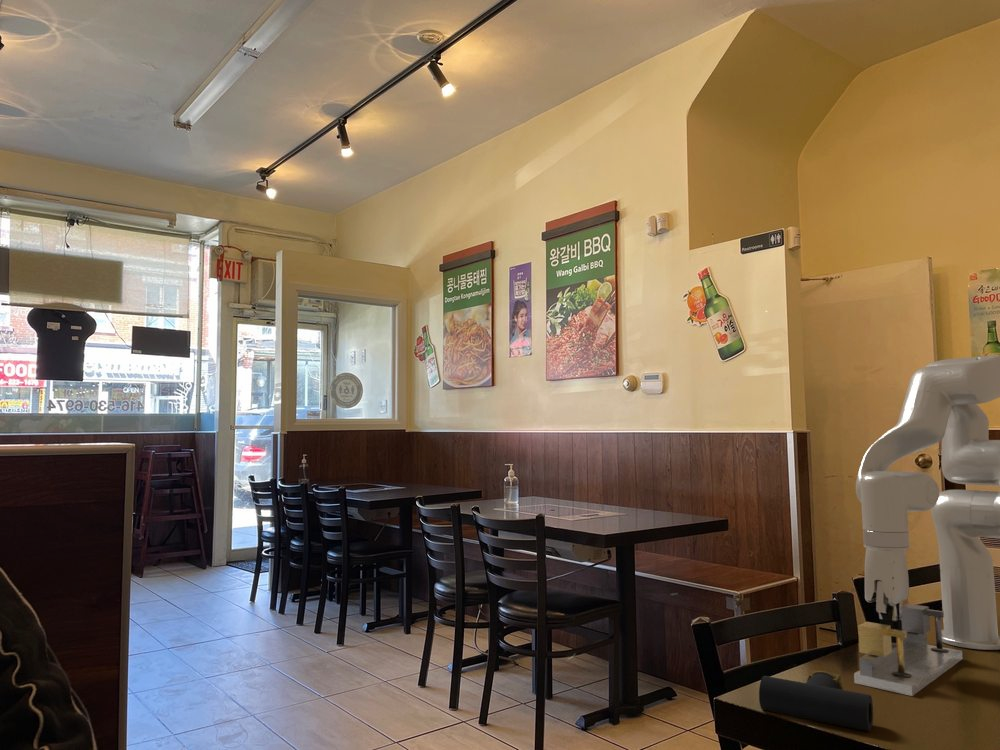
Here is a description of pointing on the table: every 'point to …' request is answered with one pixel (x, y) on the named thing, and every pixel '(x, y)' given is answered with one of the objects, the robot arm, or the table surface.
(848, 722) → the pipe connector
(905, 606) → the fixed leg
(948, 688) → the table surface
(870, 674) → the bolt plate
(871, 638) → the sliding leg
